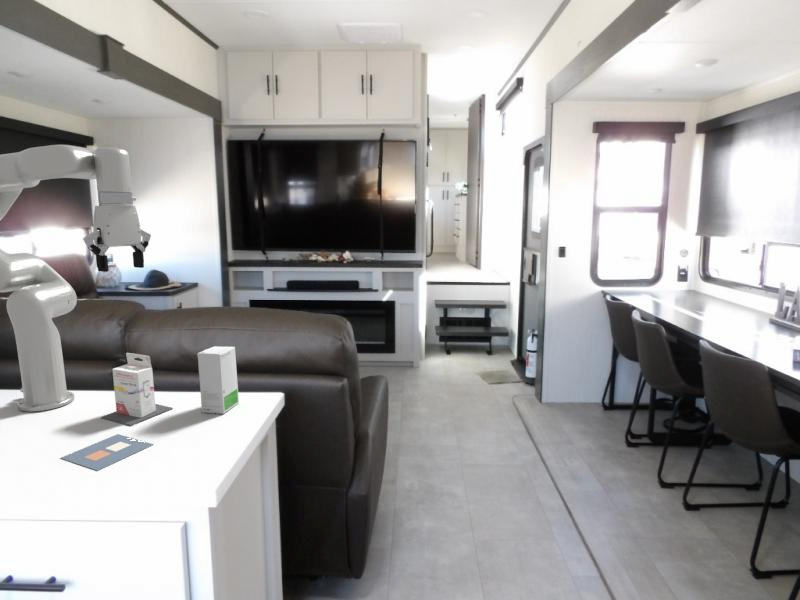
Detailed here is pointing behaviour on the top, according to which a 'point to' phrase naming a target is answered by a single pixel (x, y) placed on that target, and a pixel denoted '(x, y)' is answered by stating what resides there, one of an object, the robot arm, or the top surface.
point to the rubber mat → (134, 420)
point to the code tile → (106, 452)
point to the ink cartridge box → (134, 387)
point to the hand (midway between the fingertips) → (121, 269)
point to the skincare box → (218, 379)
